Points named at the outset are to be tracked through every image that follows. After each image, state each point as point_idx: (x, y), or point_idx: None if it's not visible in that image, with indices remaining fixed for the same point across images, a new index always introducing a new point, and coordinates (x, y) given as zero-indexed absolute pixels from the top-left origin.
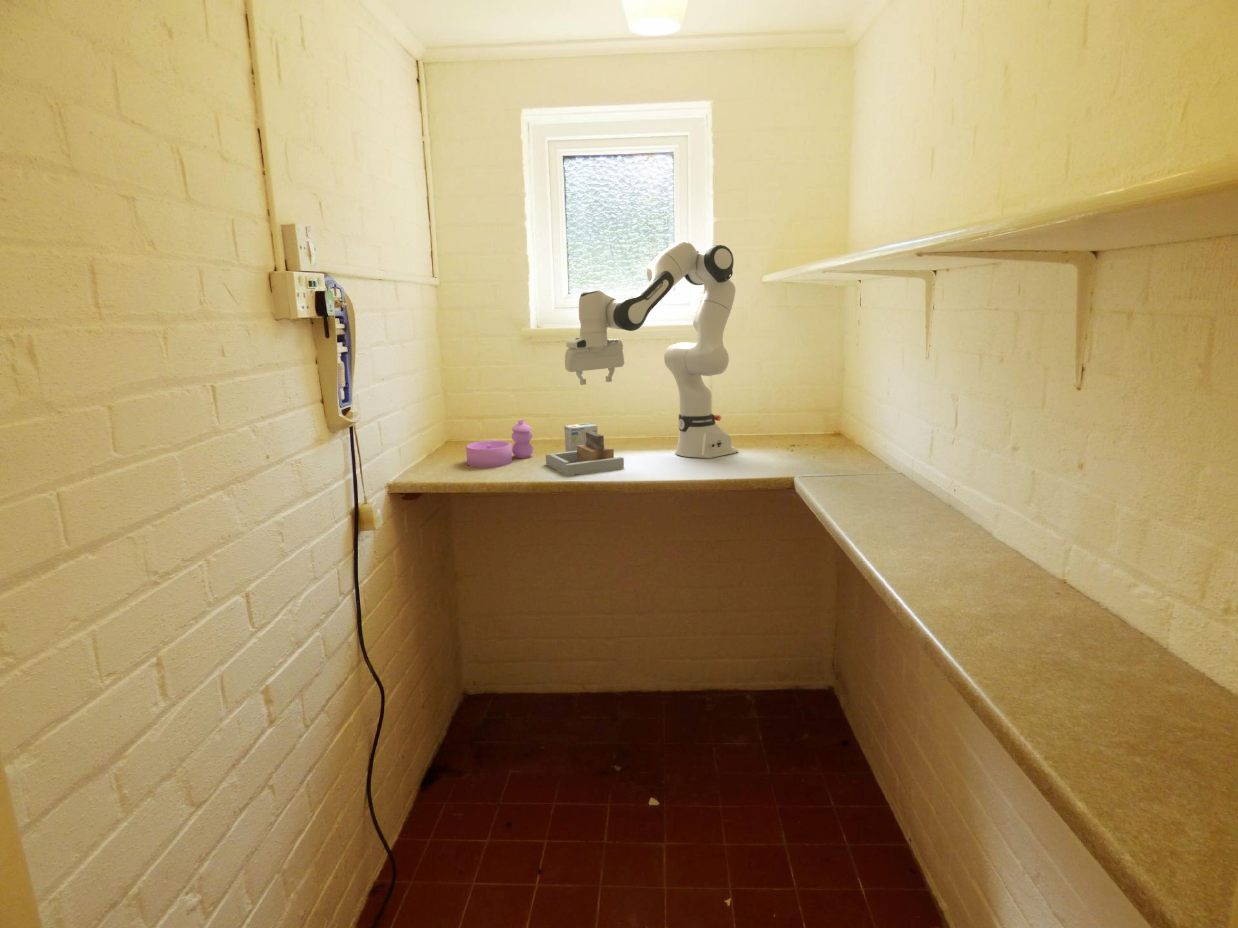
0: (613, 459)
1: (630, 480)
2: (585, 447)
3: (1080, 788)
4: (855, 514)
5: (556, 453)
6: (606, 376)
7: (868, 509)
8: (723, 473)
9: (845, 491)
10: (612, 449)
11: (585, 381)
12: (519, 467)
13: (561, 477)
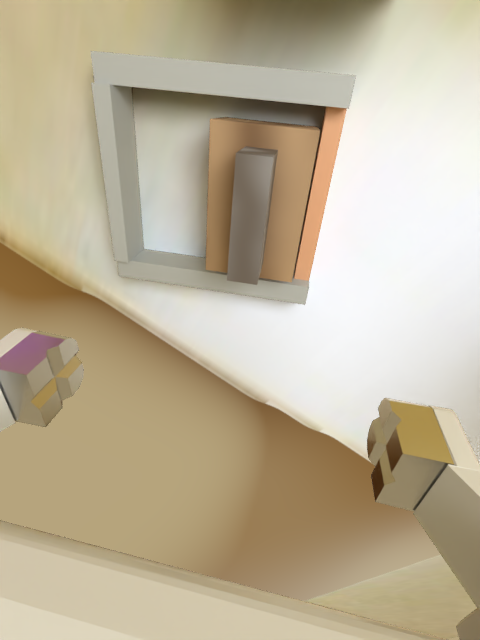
0: (269, 298)
1: (243, 381)
2: (220, 190)
3: None
4: (361, 600)
5: (137, 66)
6: (399, 470)
7: (390, 603)
8: None
9: (456, 582)
10: (287, 281)
11: (56, 405)
12: (9, 37)
13: (114, 265)
